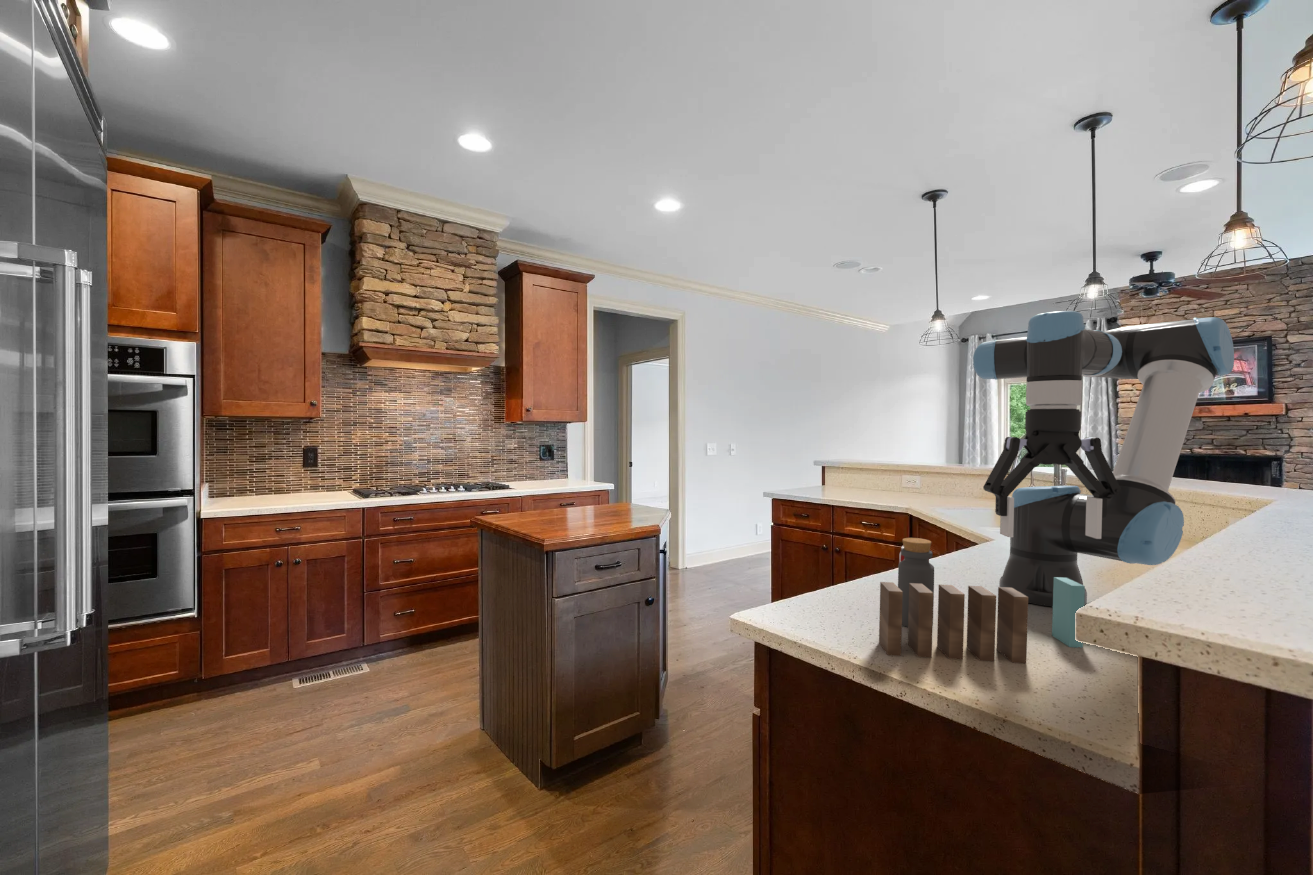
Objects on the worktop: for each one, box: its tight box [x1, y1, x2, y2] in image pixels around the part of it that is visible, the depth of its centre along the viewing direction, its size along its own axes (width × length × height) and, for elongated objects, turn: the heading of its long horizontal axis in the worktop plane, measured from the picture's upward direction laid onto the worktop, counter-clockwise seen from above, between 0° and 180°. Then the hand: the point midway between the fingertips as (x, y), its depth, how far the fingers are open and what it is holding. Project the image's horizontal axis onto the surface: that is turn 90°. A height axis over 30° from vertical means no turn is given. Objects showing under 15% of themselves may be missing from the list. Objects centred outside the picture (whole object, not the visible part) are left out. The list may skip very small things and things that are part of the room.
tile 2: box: [996, 586, 1029, 664], centre depth 88 cm, size 2×5×10 cm, turn 173°
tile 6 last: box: [878, 581, 903, 657], centre depth 90 cm, size 2×5×10 cm, turn 173°
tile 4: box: [936, 584, 966, 660], centre depth 89 cm, size 2×5×10 cm, turn 173°
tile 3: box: [966, 585, 997, 662], centre depth 89 cm, size 2×5×10 cm, turn 173°
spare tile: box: [1051, 577, 1086, 649], centre depth 95 cm, size 2×5×10 cm, turn 173°
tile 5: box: [907, 583, 934, 659], centre depth 90 cm, size 2×5×10 cm, turn 173°
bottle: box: [897, 537, 935, 628], centre depth 102 cm, size 6×6×15 cm
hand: (1049, 536), depth 95 cm, fingers open, 13 cm apart
